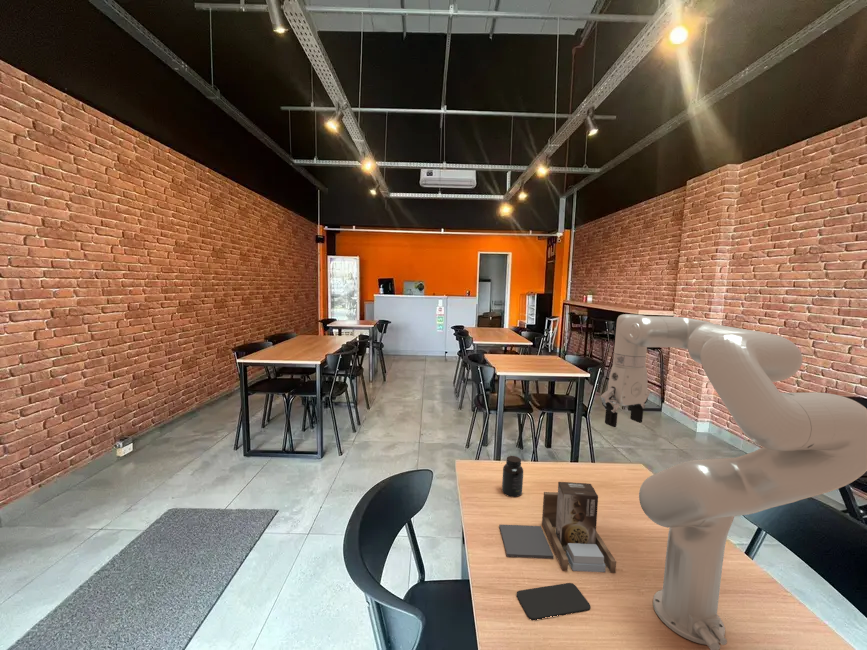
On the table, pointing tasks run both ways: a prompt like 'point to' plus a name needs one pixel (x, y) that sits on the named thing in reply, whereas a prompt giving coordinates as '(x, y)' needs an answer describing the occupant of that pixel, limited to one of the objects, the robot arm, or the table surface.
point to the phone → (552, 601)
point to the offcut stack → (585, 557)
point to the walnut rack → (548, 525)
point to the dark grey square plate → (525, 541)
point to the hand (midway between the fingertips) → (623, 423)
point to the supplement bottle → (512, 477)
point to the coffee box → (576, 513)
